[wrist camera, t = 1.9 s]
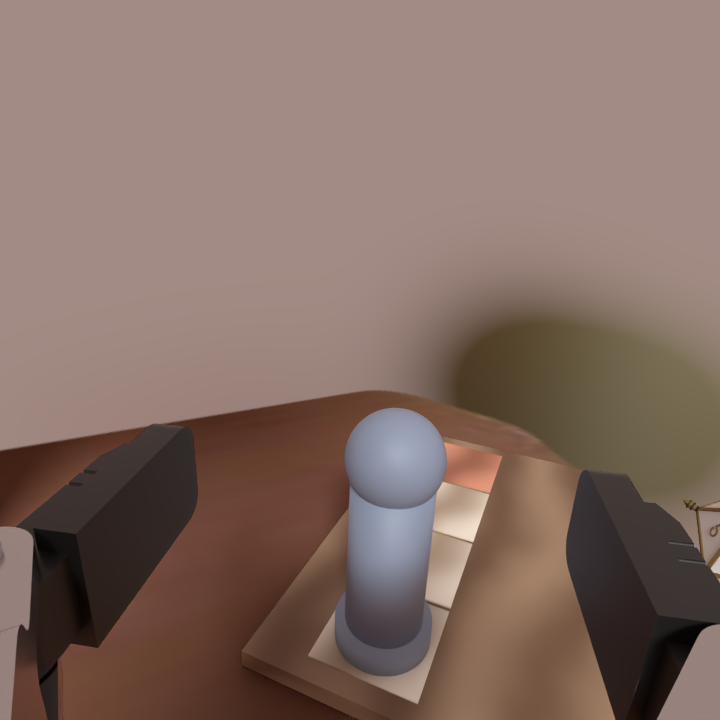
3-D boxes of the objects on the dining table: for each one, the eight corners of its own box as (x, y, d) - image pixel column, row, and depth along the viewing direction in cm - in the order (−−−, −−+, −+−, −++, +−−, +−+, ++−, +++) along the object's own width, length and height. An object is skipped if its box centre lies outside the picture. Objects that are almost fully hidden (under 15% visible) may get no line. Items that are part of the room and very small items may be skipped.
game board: (242, 665, 26) (241, 649, 26) (406, 437, 49) (407, 427, 48) (635, 848, 20) (642, 831, 19) (617, 488, 42) (620, 477, 42)
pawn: (317, 652, 26) (320, 425, 21) (357, 583, 30) (367, 381, 26) (412, 693, 24) (439, 454, 20) (441, 613, 28) (468, 402, 24)
